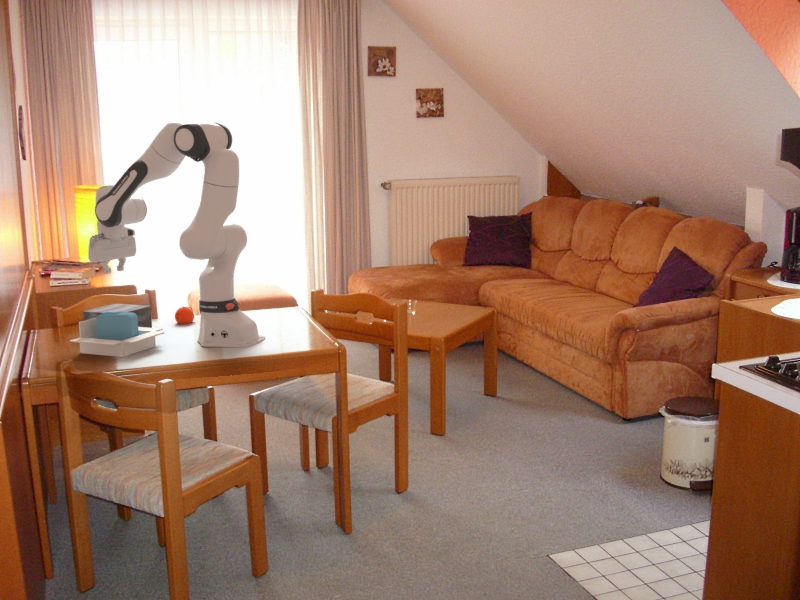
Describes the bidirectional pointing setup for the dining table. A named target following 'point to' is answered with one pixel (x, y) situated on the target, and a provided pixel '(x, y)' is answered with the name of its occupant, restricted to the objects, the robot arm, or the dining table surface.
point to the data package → (117, 325)
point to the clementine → (184, 315)
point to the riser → (140, 310)
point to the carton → (114, 341)
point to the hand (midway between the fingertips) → (114, 272)
